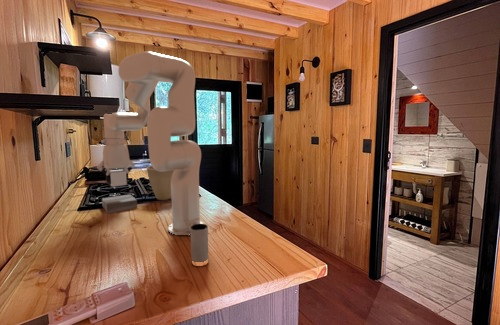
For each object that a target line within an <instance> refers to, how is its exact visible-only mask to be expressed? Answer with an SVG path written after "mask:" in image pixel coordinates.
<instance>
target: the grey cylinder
mask: <svg viewBox="0 0 500 325" xmlns="http://www.w3.org/2000/svg"><path fill="white" fill-rule="evenodd" d="M190 231H191V235H190V256H191V257H190V259H192V261H194V262H204V261H206V260H207V259H208V260H209V226H208V225H207V224H205V223H204V224H195V225H192V226H191V227H190Z"/></svg>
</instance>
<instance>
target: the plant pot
mask: <svg viewBox="0 0 500 325" xmlns="http://www.w3.org/2000/svg"><path fill="white" fill-rule="evenodd" d="M146 172H147V176H148V180H149V184H150V186H151V189H152V192H153V195H154V196H155V198H156V200H158V201H167V200H171V178H172V174H173V172H174V170H171V171H165V172H160V171H157V170H155V169H154V168H153V167H152V165H148V166H147V167H146Z"/></svg>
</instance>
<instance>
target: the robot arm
mask: <svg viewBox="0 0 500 325" xmlns="http://www.w3.org/2000/svg"><path fill="white" fill-rule="evenodd" d="M118 75H119V77H120V79H121V80H122V81H124V82H125V83H129V84H128V86H127V87H126V89H125V92H124V93H125V96H126V98H127V99H128V100H129V101H130V102H131V103H132V104H133V105H136V106H138V109H137V111H136V112H111V113H112V114H107V113H104V115H103V129H104V130H103V131H104V139H101V140H100V141H101V144H104V145H103V150H102V151H103V152H102V161H101V162H100V163H98V165H97V166H96V168H97V170H98V171H100V172H101V173H102V174H104V175H105V180H106V183H108V185H110V184H111V177H110V174H109V173H110V171H111V170H120V169H123V170H124V171H126V180H127V181H129V173H130V172H131V171H132V170H133V168H135V166H136V163H135V162H133V161H132V160H131V159H130V153H129V149H128V148H129V147H128V145H127V144H125V132H130V131H133V132H137V131H141V130H142V129H143V128H144V127H145V126H146V128H147V129H146V130H147V142H148V143H147V144H148V145H147V146H148V147H147V148H148V156H149V163H150V164H151V165H150V166H152V167H153V168H154V169H155V170H157V171H160V172H165V171H171V170H174V172H173V174H172V178H171V198H170V200H171V222H172V223H171V224H169V225H168V227H167V231H169V232H170V233H169V232H168V233H169V234H171V233H172V234H171V235H173V234H176V235H175V236H177V235H188V236H190V235H189V234H191V231H190V227H191V226H192V225H195V224H205V223H204V222H202V221H201V217H200V216H201V215H200V212H201V211H200V209H201V208H200V207H201V206H200V166H201V161H202V150H201V148H200V146H199V144H198V143H197V142H196V141H194V140H188V139H180V140H178V139H177V140H172V137H174V138H175V137H185V136H186V137H187V136H190V135H192V134H194V132H195V130H196V109H195V108H196V106H195V105H196V104H195V88H196V86H195V85H196V73H195V70H194V68H193V65H192V64H191V63H189V62H188V61H186V60H184V59H182V58H178V57H174V56H170V55H168V54H167V55H165V54H161V53H157V52H153V51H146V50H145V51H140V52H137V53H134V54H130V55H126V56H125V57H124V58H123V59H121V61H120V63H119V65H118ZM159 82H163V83H170V84H171V86H170V88H169V89H168V92H167V101H168V102H167V104H168V105H167V106H156V107H153V109H151V107H150V103H149V100H150V98H151V96H152V94H153V93H154V91H155V89H156V87H157V85H158V83H159ZM102 167H104V168H105V169H104V168H102Z"/></svg>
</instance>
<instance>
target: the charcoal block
mask: <svg viewBox="0 0 500 325" xmlns="http://www.w3.org/2000/svg"><path fill="white" fill-rule="evenodd" d="M101 204H102V206H101V207H102V208H103V209H104V211H105V212H106V213H107V214H112V213H115V212H121V211H126V210H127V211H128V210H132V209H137V208H138V200H137V199H136V198H135V197H134V196H133V195H132V194H123V195H118V196H117V195H116V196H115V195H114V196H108V197H102V198H101Z"/></svg>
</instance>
